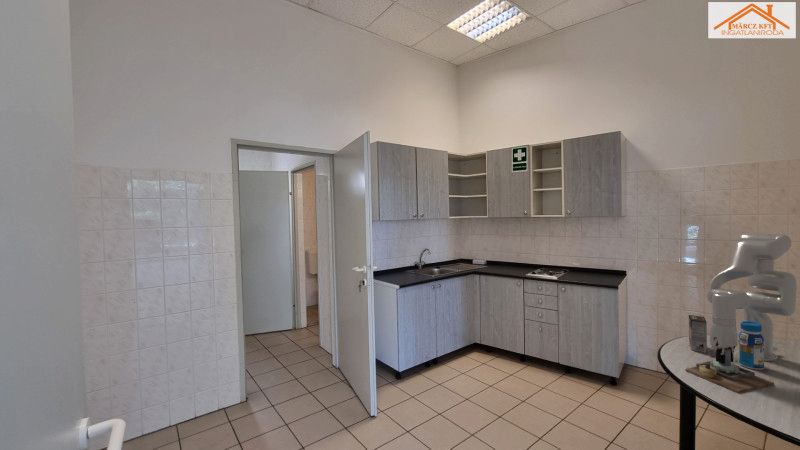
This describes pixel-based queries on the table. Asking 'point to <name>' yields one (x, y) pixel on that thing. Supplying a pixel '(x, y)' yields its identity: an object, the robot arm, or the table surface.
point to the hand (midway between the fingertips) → (724, 361)
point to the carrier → (730, 378)
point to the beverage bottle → (751, 346)
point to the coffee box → (697, 333)
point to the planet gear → (728, 365)
